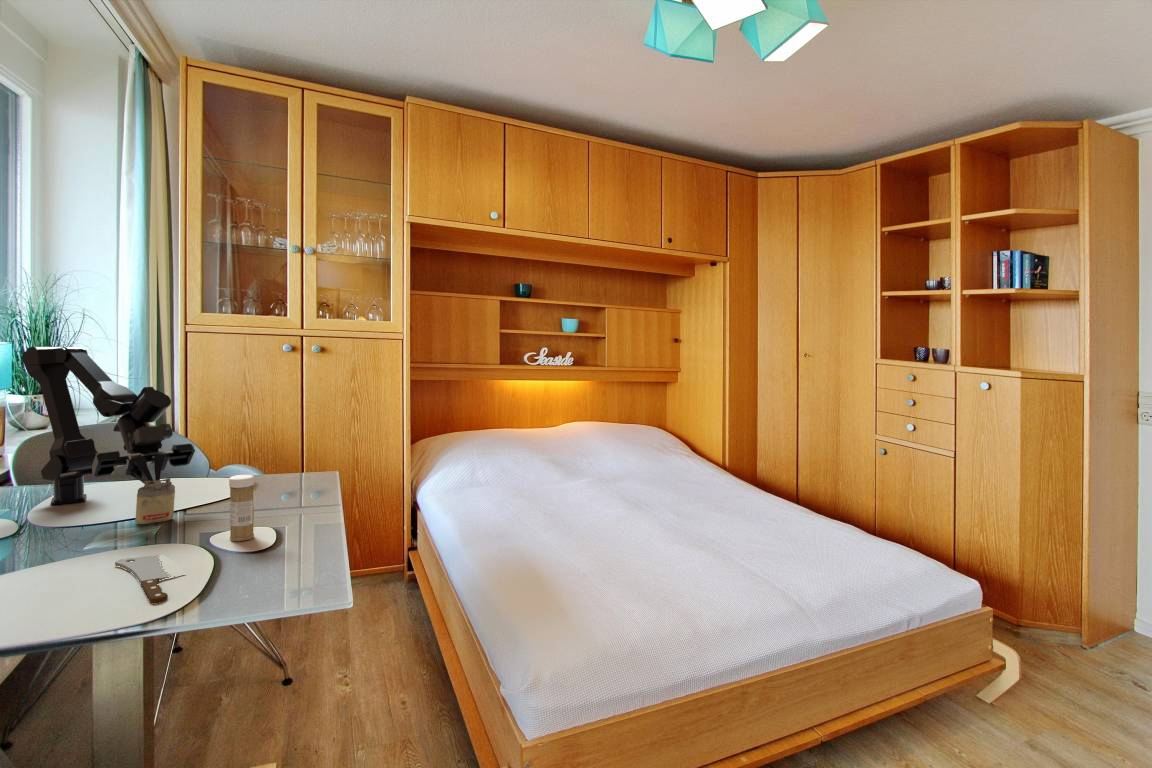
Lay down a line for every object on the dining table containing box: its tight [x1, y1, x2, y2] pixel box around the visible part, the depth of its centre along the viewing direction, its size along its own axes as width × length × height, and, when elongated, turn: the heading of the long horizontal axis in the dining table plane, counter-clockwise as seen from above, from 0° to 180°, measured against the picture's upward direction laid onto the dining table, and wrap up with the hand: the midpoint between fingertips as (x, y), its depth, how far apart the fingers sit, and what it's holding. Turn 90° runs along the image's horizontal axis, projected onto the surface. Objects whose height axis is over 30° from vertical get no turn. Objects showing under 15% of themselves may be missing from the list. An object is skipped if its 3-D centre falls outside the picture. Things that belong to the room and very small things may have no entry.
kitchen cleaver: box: [114, 554, 175, 605], centre depth 102 cm, size 24×1×10 cm
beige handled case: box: [134, 477, 176, 525], centre depth 130 cm, size 7×4×10 cm, turn 135°
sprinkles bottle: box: [228, 474, 255, 542], centre depth 122 cm, size 5×5×13 cm
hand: (155, 488), depth 131 cm, fingers closed
